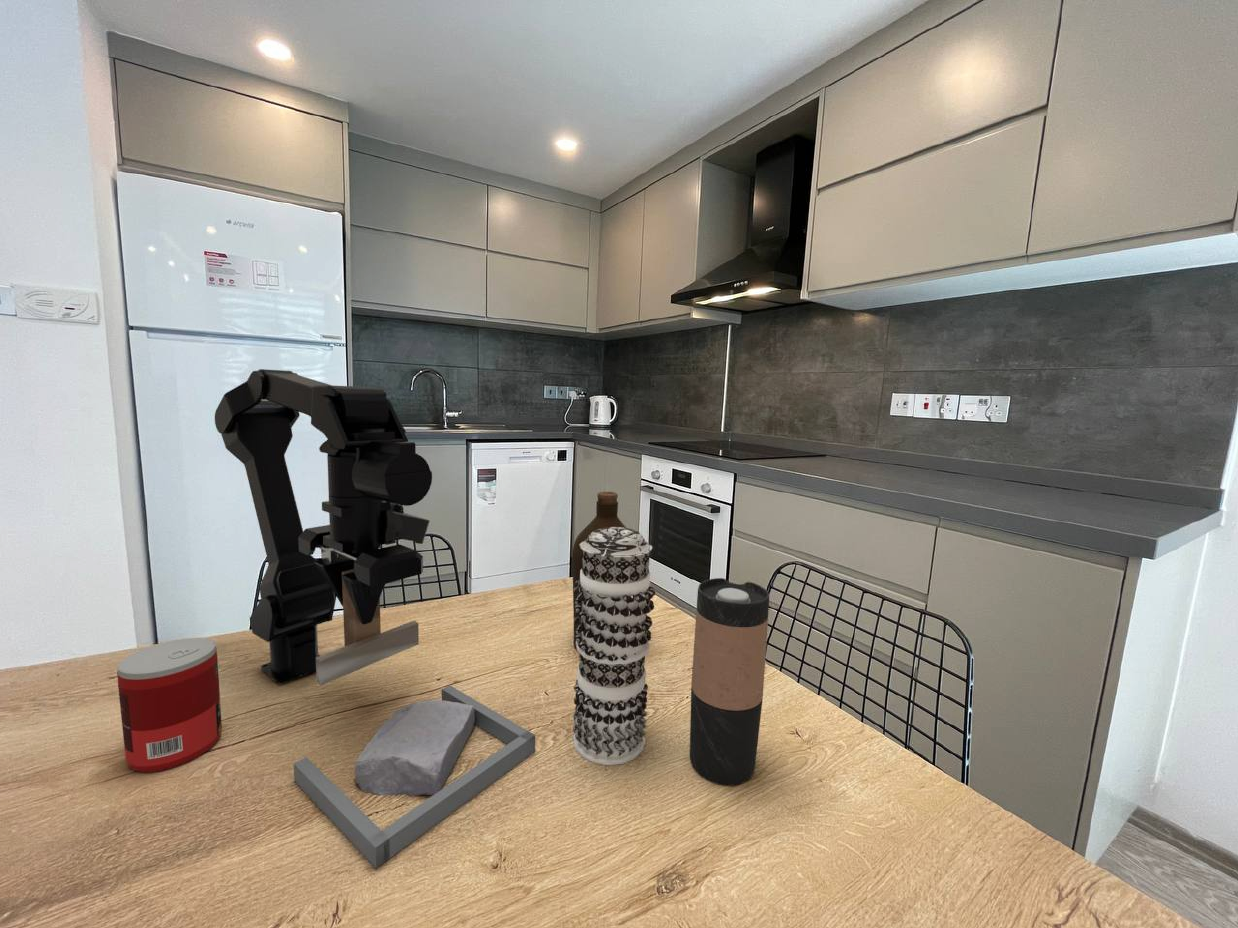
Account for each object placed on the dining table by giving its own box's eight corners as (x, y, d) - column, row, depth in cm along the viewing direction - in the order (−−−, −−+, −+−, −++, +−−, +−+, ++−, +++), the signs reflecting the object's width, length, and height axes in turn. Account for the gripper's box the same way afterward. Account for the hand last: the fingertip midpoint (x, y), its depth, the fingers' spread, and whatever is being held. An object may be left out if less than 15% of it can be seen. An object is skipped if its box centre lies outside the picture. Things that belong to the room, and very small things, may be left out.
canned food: (238, 734, 58) (232, 644, 57) (156, 783, 51) (147, 680, 49) (193, 719, 61) (186, 631, 59) (108, 763, 53) (98, 664, 52)
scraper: (305, 671, 59) (300, 582, 57) (401, 633, 69) (400, 556, 67) (320, 685, 57) (316, 593, 55) (418, 644, 67) (417, 564, 65)
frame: (294, 781, 52) (293, 763, 51) (449, 699, 66) (449, 684, 66) (376, 868, 43) (375, 847, 42) (535, 751, 57) (535, 734, 57)
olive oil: (640, 659, 79) (648, 500, 75) (572, 662, 77) (576, 500, 74) (628, 628, 89) (634, 487, 86) (567, 630, 87) (571, 487, 84)
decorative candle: (583, 776, 54) (590, 547, 51) (560, 724, 62) (565, 524, 59) (661, 757, 57) (672, 541, 54) (629, 709, 66) (637, 520, 62)
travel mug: (715, 797, 52) (728, 609, 49) (673, 750, 58) (683, 582, 56) (772, 774, 55) (786, 597, 53) (726, 732, 62) (737, 573, 59)
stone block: (348, 811, 51) (445, 799, 50) (338, 766, 50) (436, 753, 50) (403, 737, 62) (482, 726, 62) (396, 700, 62) (475, 689, 62)
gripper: (462, 496, 61) (462, 619, 63) (381, 476, 72) (383, 582, 74) (370, 510, 52) (374, 653, 54) (294, 485, 63) (299, 605, 65)
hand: (359, 619), depth 62 cm, fingers closed on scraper, 3 cm apart
